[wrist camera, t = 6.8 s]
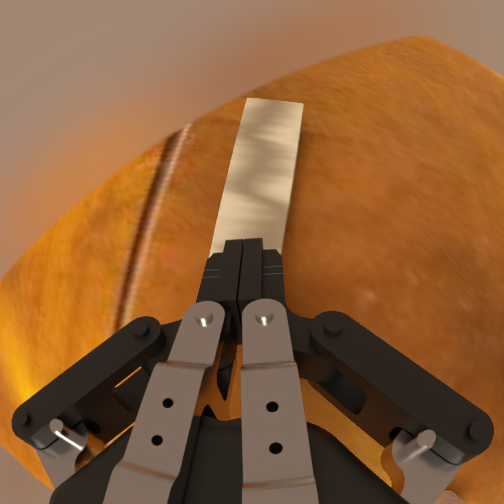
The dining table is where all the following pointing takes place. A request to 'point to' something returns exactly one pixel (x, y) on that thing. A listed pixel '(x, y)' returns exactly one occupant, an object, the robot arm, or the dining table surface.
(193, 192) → the dining table surface
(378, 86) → the dining table surface
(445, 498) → the white cup
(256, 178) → the birch block
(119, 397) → the robot arm
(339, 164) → the dining table surface
